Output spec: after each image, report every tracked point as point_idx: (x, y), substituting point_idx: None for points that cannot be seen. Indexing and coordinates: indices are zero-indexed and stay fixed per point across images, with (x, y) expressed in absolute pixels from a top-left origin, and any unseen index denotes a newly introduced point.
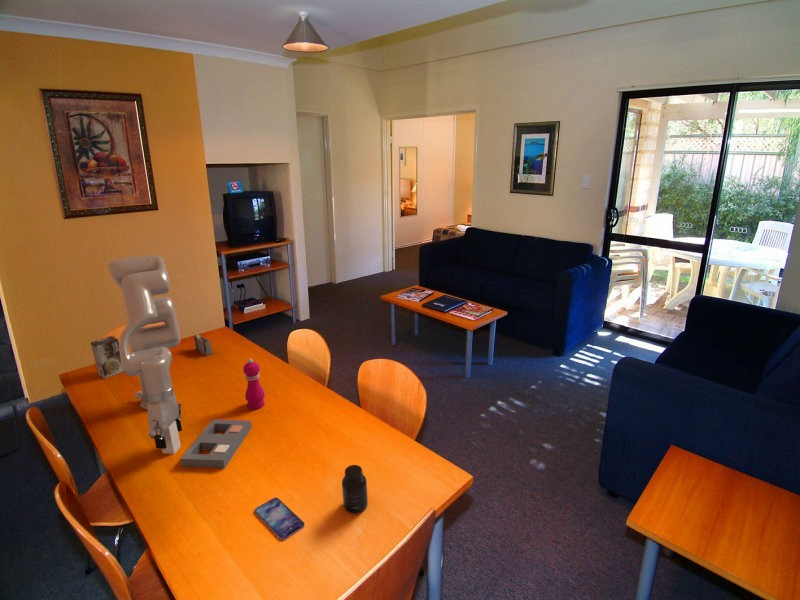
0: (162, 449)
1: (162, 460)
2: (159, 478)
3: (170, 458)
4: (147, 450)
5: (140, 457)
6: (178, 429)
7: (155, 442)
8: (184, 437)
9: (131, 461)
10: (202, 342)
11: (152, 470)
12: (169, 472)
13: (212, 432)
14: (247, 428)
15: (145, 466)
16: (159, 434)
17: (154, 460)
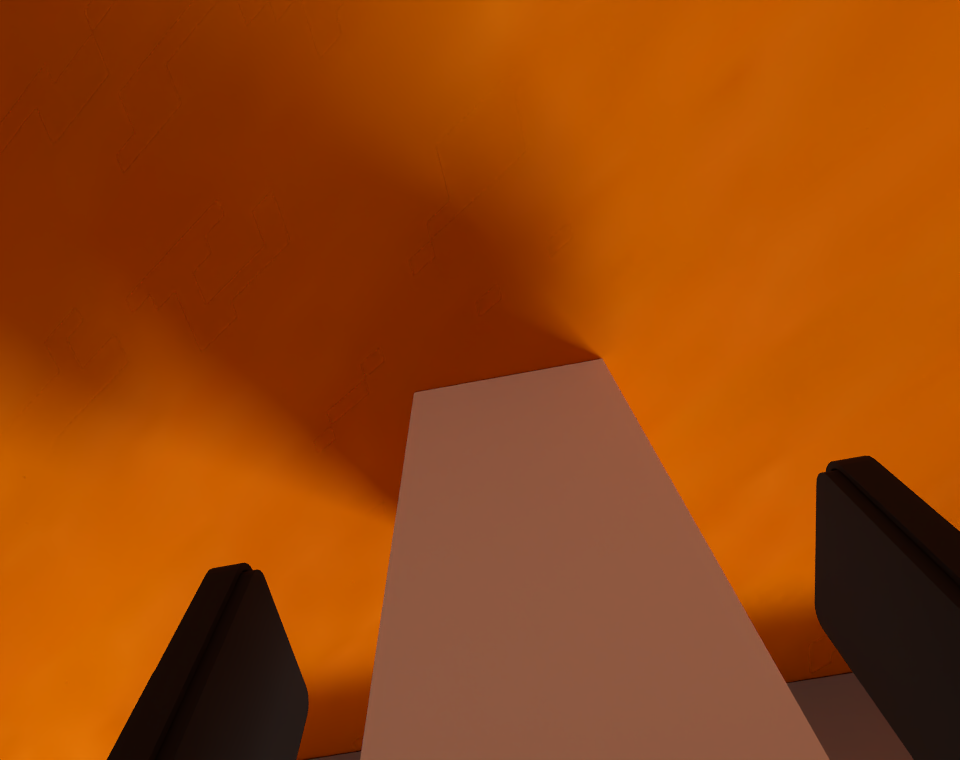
0: (411, 432)
1: (281, 497)
2: (6, 685)
3: (353, 562)
4: (406, 65)
5: (202, 99)
6: (838, 617)
7: (156, 681)
8: (839, 425)
9: (46, 16)
10: None
11: (64, 519)
12: None
13: None
14: None
15: (75, 368)
16: (377, 681)
17: (237, 393)
